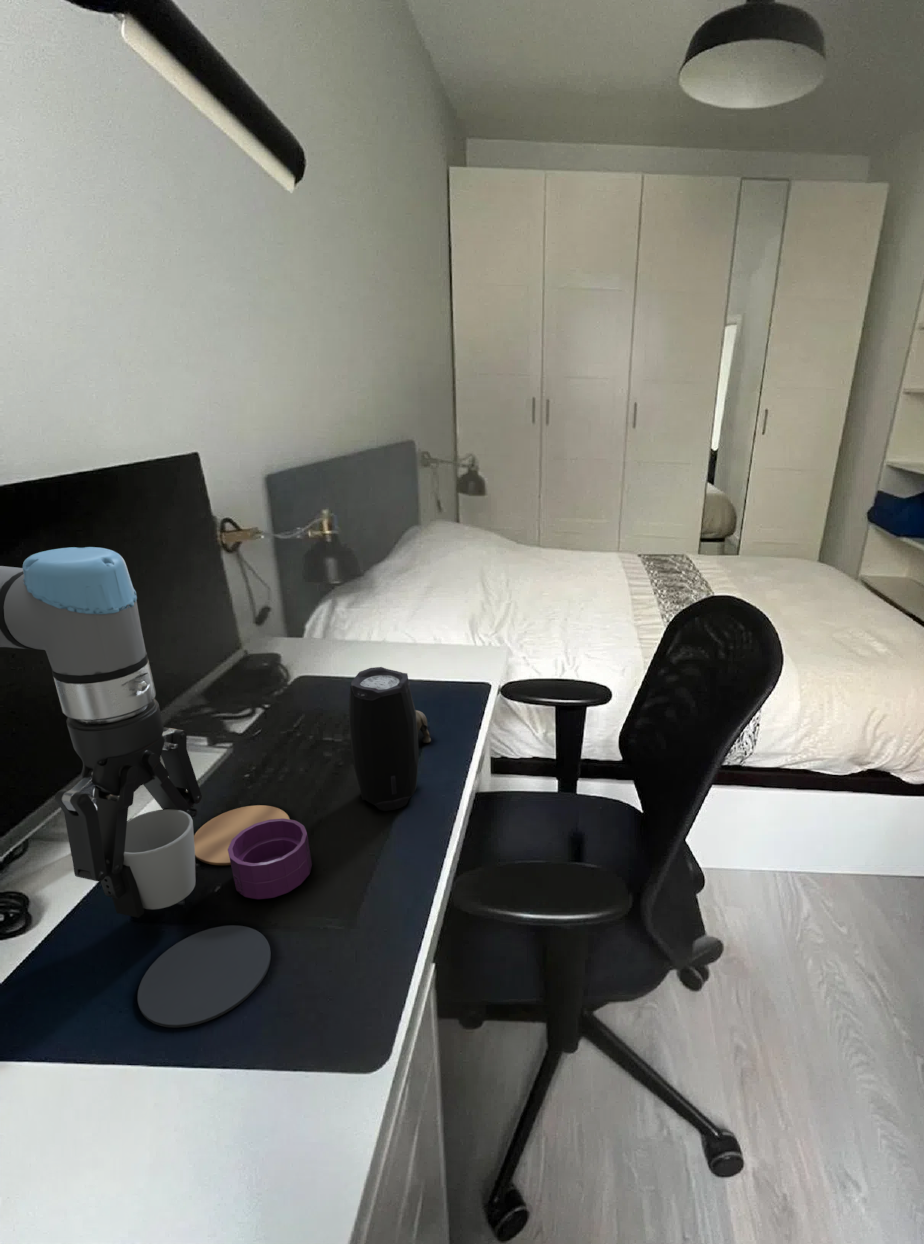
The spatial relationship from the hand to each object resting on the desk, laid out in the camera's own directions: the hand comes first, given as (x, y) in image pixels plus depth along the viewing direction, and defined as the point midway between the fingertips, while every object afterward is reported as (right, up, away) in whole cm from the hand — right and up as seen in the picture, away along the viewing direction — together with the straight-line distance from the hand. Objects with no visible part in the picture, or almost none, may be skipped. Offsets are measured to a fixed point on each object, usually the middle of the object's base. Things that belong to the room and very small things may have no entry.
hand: (158, 887), depth 71 cm
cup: (0, -1, 0) cm, 1 cm away
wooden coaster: (+2, +2, +14) cm, 14 cm away
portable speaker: (+19, +5, +24) cm, 31 cm away
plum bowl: (+10, -1, +7) cm, 12 cm away
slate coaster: (+9, -7, -6) cm, 13 cm away
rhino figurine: (+16, +12, +40) cm, 45 cm away
